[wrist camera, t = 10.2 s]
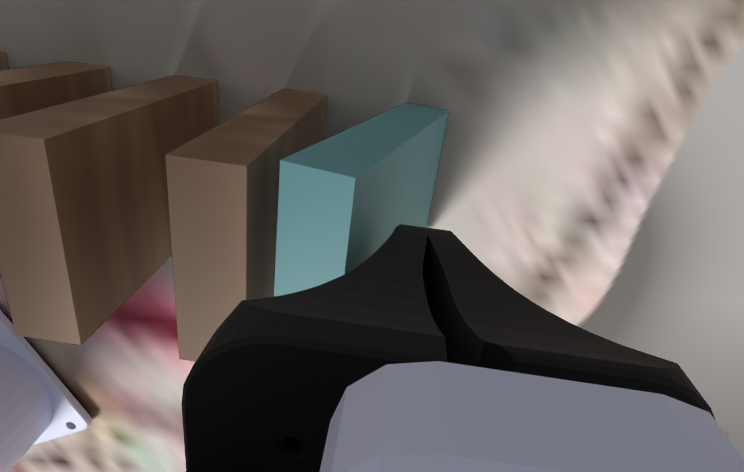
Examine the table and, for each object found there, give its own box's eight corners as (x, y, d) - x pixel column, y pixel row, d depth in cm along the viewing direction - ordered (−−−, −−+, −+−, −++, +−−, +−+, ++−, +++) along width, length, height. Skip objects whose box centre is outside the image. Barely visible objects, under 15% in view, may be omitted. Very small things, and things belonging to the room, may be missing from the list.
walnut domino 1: (109, 67, 18) (-154, 112, 10) (124, 194, 20) (-82, 321, 12) (67, 61, 18) (-232, 102, 10) (86, 189, 20) (-145, 311, 12)
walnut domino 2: (217, 80, 18) (43, 139, 9) (220, 207, 20) (80, 345, 12) (174, 75, 18) (-36, 128, 9) (182, 202, 20) (16, 335, 12)
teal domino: (448, 111, 17) (356, 177, 9) (424, 238, 19) (331, 382, 11) (405, 102, 17) (280, 160, 9) (386, 228, 19) (270, 360, 12)
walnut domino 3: (326, 94, 17) (246, 166, 9) (317, 220, 20) (245, 368, 11) (283, 88, 17) (165, 154, 9) (278, 215, 20) (179, 358, 11)
